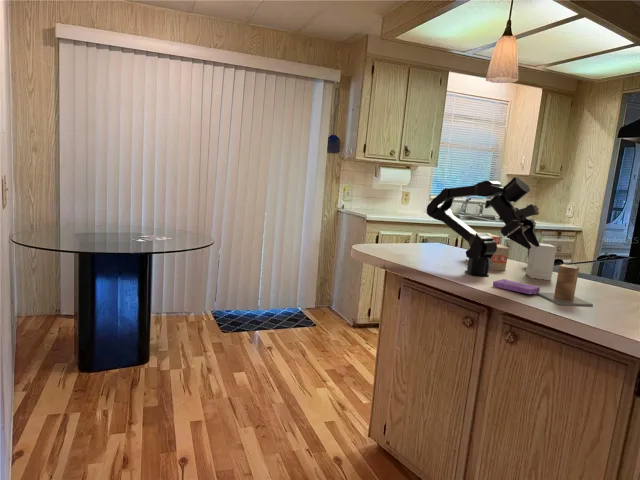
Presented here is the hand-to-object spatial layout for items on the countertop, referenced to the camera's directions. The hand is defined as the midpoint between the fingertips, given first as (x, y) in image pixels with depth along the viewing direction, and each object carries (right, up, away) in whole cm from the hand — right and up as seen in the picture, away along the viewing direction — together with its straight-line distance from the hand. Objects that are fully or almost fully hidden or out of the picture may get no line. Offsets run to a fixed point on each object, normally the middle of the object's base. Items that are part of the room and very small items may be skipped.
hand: (534, 247), depth 148 cm
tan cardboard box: (-2, -8, +37) cm, 38 cm away
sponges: (-8, -14, -5) cm, 17 cm away
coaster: (+3, -16, -12) cm, 20 cm away
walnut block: (+3, -15, -12) cm, 20 cm away
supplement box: (+11, -12, +19) cm, 25 cm away
